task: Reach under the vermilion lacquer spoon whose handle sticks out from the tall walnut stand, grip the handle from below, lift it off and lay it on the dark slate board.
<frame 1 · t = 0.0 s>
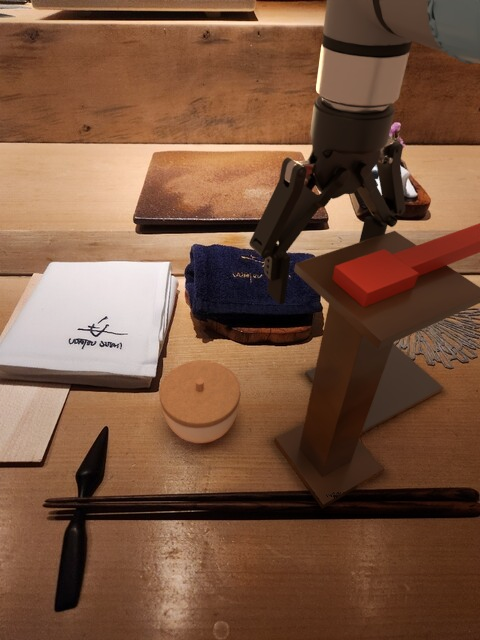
hand: (321, 281, 57), 21 cm above the counter, tool pointing down, fingers open, 13 cm apart
spoon stand: (335, 452, 63), on the counter
slate board: (372, 382, 72), on the counter
trinket box: (201, 424, 66), on the counter
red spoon: (434, 260, 45), point 30 cm above the counter, touching spoon stand
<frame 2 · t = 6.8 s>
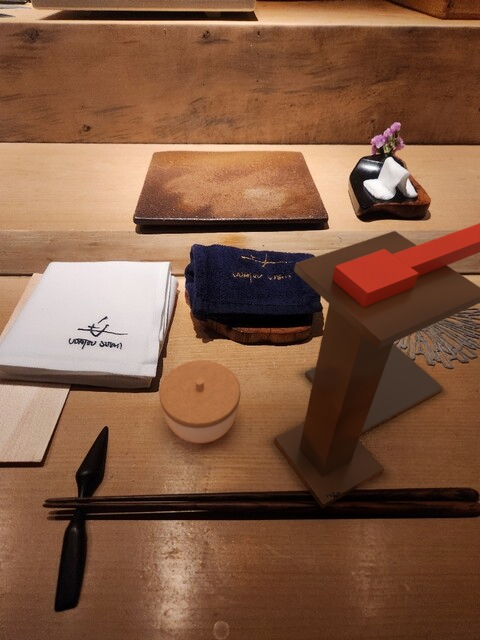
nothing on the counter moved.
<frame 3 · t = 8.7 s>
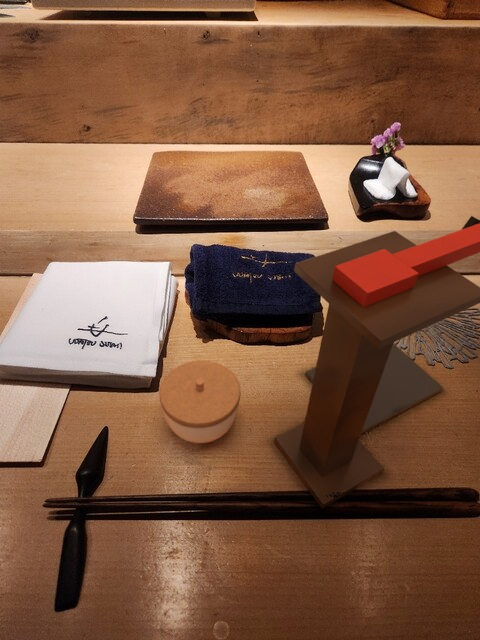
nothing on the counter moved.
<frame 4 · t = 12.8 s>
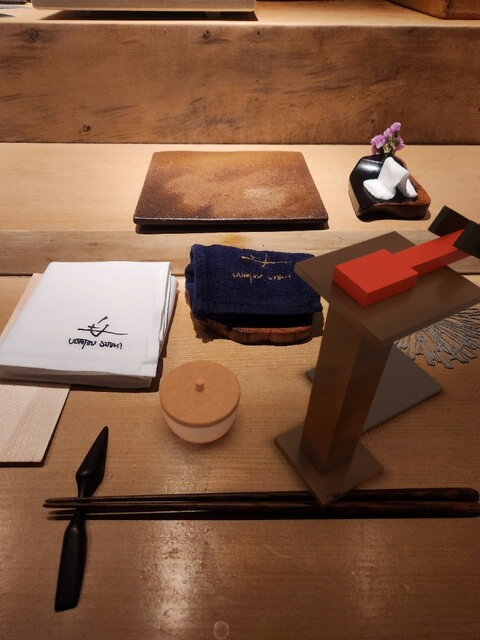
hand: (451, 227, 43), 34 cm above the counter, tool pointing upward, fingers closed on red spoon, 2 cm apart
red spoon: (434, 260, 45), point 30 cm above the counter, touching gripper, spoon stand
everything else where it was.
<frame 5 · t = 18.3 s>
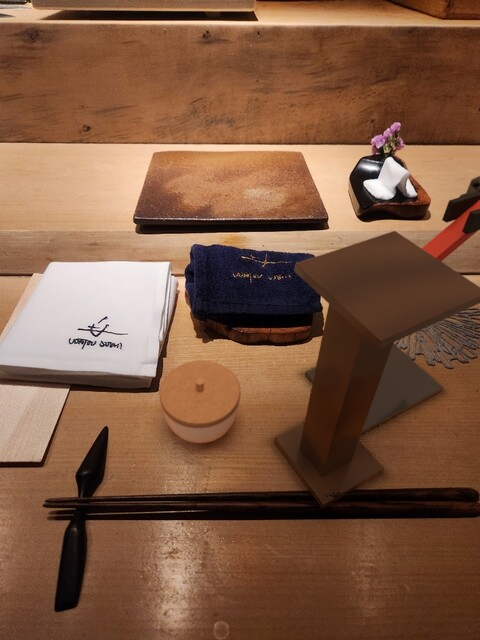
hand: (458, 217, 56), 28 cm above the counter, tool horizontal, fingers closed on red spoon, 2 cm apart
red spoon: (454, 239, 58), point 25 cm above the counter, tilted 30°, touching gripper
everything else where it was.
when the fingers open (8 cm above the counter, at t = 22.9 s): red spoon drops 4 cm, resting on slate board.
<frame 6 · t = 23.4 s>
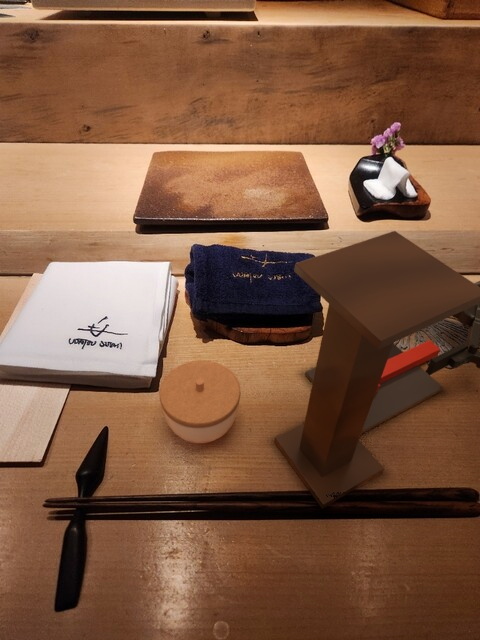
hand: (401, 341, 69), 8 cm above the counter, tool horizontal, fingers open, 11 cm apart
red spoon: (392, 370, 73), point 1 cm above the counter, touching slate board
everything else where it was.
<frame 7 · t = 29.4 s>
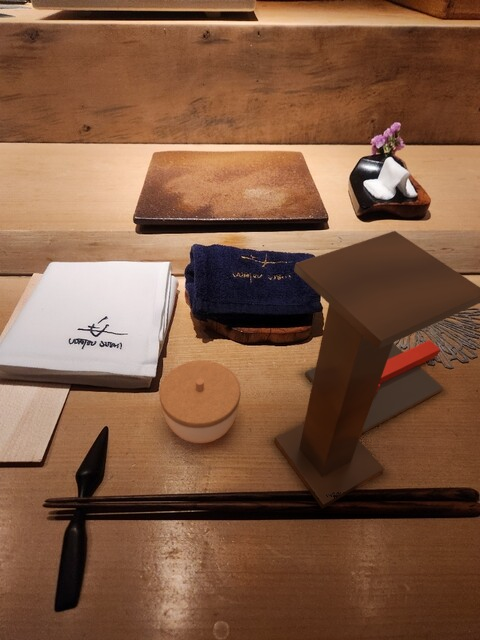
nothing on the counter moved.
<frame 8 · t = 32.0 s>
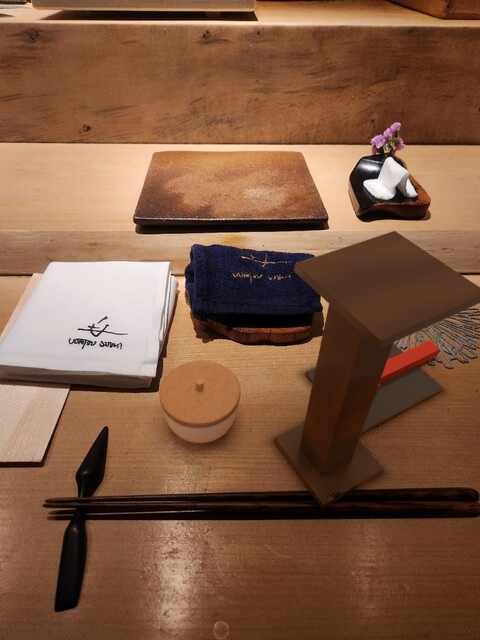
nothing on the counter moved.
at the end: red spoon inside the target area on the slate board (3.9 cm from its centre), point 0.8 cm above the slate board's base; the gripper is holding nothing; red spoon touching slate board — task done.
